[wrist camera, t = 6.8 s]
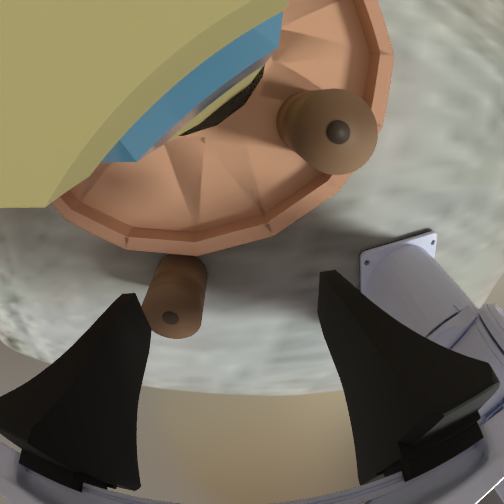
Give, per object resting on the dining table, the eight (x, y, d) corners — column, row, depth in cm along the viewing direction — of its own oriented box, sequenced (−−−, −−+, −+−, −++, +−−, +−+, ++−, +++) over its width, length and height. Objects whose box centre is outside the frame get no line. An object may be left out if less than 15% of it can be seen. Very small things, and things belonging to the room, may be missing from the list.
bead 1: (215, 286, 21) (211, 332, 17) (172, 299, 22) (160, 344, 18) (194, 244, 20) (183, 286, 15) (148, 261, 20) (129, 303, 16)
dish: (395, 191, 18) (411, 202, 16) (94, 271, 20) (83, 287, 18) (313, -89, 5) (320, -101, 3) (11, 20, 7) (-4, 18, 5)
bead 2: (345, 145, 16) (384, 164, 11) (286, 161, 16) (307, 185, 12) (330, 86, 14) (368, 82, 9) (268, 100, 14) (282, 98, 10)
